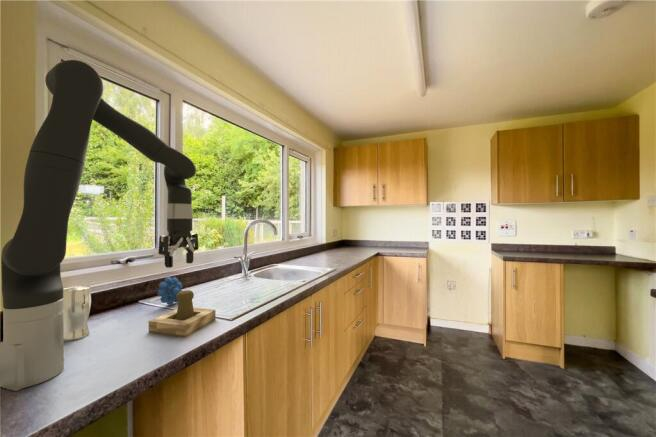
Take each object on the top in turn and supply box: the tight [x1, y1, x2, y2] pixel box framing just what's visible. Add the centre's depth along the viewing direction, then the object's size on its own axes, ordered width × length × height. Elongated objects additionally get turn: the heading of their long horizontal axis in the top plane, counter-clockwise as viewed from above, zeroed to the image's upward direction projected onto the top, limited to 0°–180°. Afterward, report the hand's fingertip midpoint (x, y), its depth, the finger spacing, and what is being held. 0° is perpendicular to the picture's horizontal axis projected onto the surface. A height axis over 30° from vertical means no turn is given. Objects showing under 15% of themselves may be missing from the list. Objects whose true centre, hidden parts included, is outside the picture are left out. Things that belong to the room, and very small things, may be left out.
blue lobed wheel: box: [157, 276, 183, 306], centre depth 109 cm, size 12×7×12 cm, turn 164°
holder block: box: [148, 307, 216, 338], centre depth 88 cm, size 14×14×4 cm
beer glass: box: [63, 285, 92, 342], centre depth 80 cm, size 7×7×15 cm
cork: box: [176, 289, 195, 321], centre depth 89 cm, size 6×6×11 cm
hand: (179, 265), depth 88 cm, fingers open, 8 cm apart
